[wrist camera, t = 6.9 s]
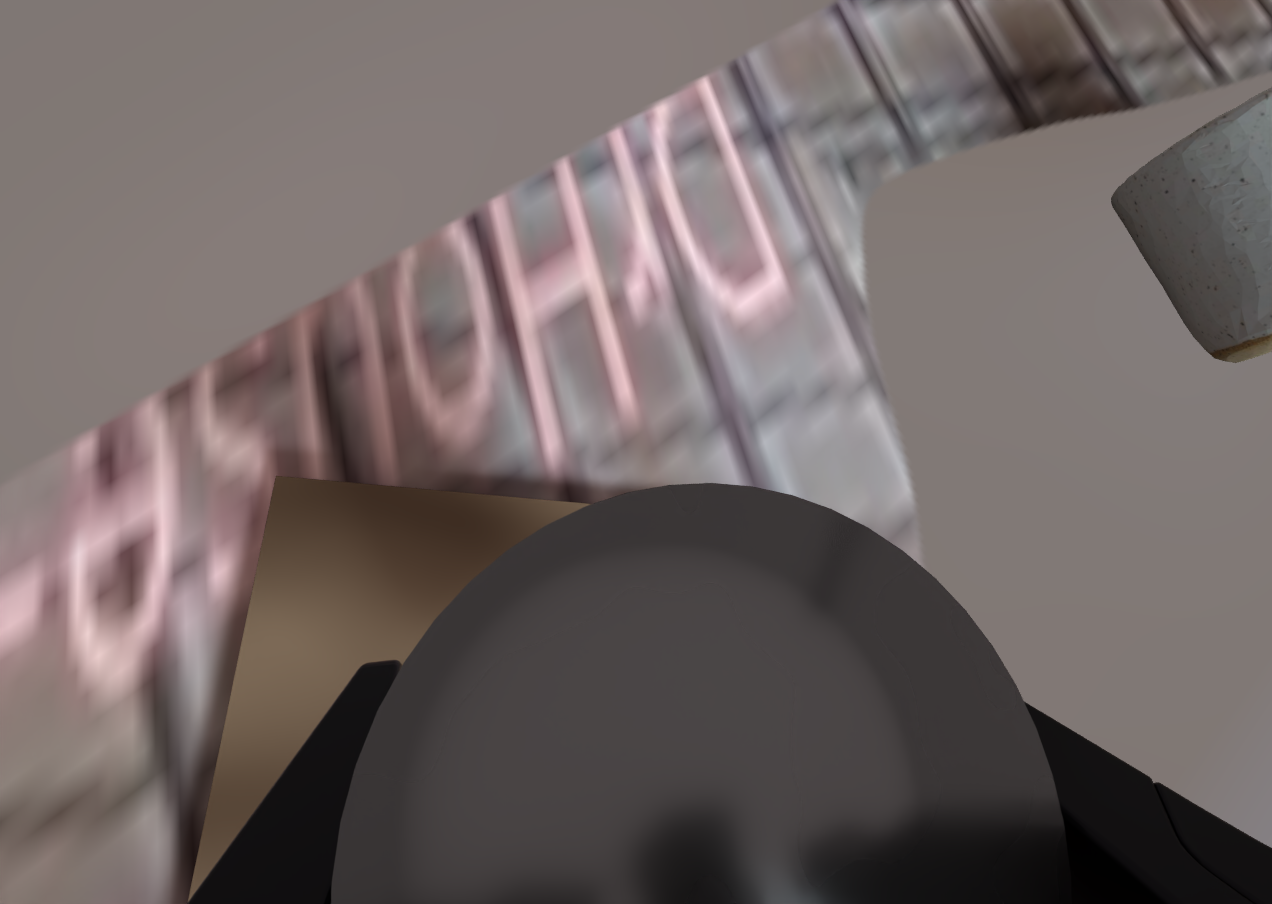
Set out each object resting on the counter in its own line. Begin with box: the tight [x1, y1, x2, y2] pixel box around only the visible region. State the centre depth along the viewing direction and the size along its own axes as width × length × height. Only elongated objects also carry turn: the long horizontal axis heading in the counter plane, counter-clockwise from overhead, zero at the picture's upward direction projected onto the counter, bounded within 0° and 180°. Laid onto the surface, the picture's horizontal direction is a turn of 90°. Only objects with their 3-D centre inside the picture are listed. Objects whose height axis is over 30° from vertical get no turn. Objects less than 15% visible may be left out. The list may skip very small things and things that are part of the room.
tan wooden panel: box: [188, 476, 591, 901], centre depth 18 cm, size 18×12×1 cm, turn 176°
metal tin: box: [331, 483, 1072, 904], centre depth 10 cm, size 5×5×10 cm
